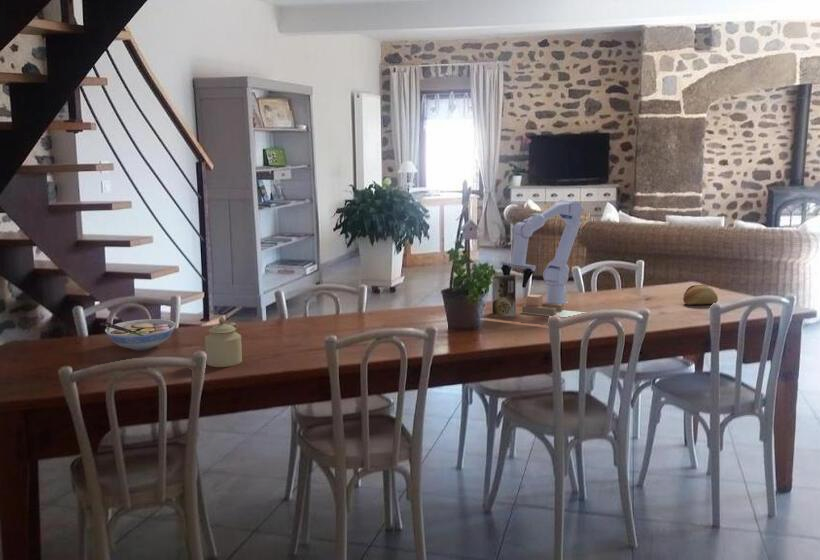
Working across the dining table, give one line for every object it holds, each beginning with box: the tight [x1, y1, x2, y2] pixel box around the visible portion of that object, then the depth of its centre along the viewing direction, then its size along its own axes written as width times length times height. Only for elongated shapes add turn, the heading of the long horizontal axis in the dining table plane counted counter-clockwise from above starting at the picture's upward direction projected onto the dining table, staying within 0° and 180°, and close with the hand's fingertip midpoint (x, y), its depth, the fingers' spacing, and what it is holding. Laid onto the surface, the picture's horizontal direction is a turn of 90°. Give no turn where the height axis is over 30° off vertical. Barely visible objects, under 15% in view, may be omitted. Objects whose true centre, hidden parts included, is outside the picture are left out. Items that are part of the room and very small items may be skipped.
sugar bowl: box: [204, 315, 243, 368], centre depth 238 cm, size 15×11×15 cm
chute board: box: [521, 301, 586, 318], centre depth 296 cm, size 12×24×4 cm, turn 59°
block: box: [525, 294, 544, 307], centre depth 300 cm, size 4×5×6 cm
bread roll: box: [682, 284, 719, 306], centre depth 313 cm, size 10×15×8 cm, turn 104°
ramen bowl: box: [99, 318, 176, 351], centre depth 256 cm, size 25×23×8 cm
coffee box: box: [491, 274, 517, 317], centre depth 294 cm, size 9×6×16 cm
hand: (515, 285), depth 303 cm, fingers open, 7 cm apart
